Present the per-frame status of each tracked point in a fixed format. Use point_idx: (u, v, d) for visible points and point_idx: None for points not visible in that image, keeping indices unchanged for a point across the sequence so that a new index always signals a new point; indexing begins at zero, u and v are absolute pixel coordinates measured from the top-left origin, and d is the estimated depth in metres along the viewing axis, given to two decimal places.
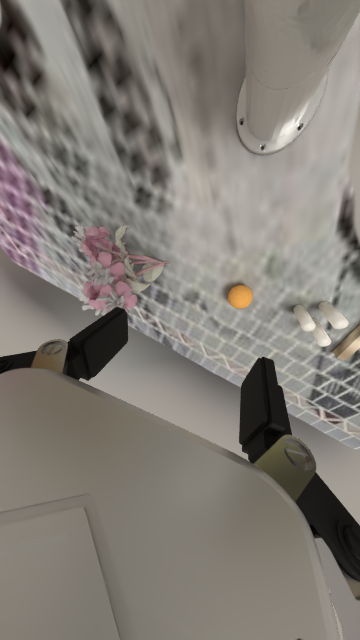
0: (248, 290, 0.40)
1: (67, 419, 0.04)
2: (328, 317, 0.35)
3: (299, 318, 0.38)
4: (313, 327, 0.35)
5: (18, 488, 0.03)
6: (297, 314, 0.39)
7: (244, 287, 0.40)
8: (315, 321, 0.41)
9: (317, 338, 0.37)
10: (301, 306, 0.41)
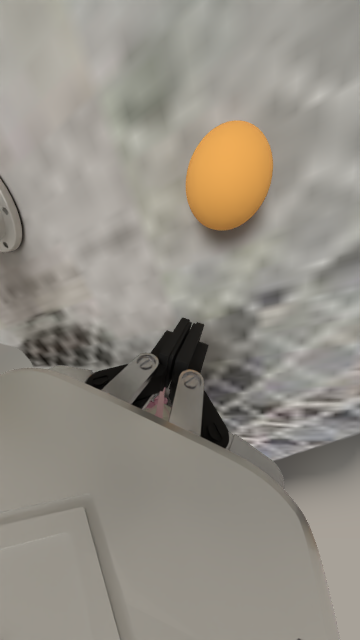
0: (193, 153, 0.11)
1: (67, 419, 0.04)
2: None
3: None
4: None
5: (18, 488, 0.03)
6: None
7: (187, 175, 0.12)
8: None
9: None
10: None
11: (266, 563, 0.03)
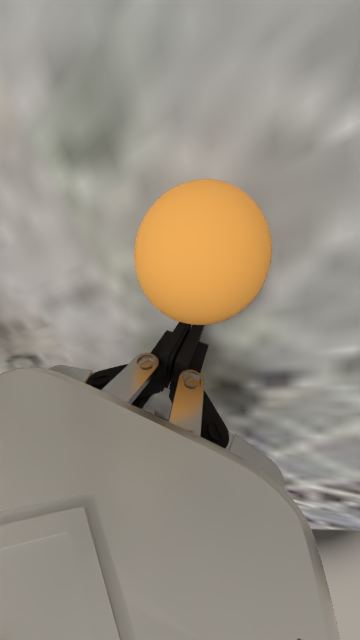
0: None
1: (67, 419, 0.04)
2: None
3: None
4: None
5: (18, 488, 0.03)
6: None
7: None
8: None
9: None
10: None
11: (266, 563, 0.03)
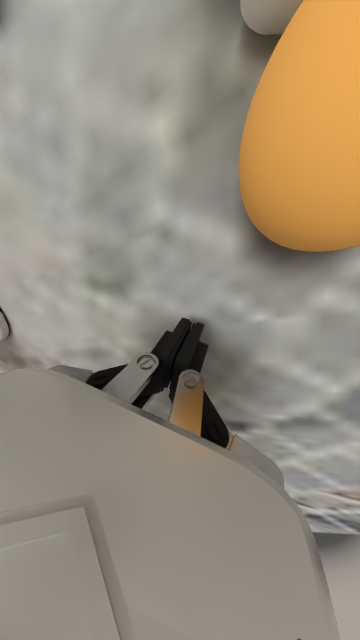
0: (261, 135, 0.04)
1: (67, 419, 0.04)
2: None
3: None
4: None
5: (18, 488, 0.03)
6: None
7: (258, 92, 0.04)
8: None
9: None
10: None
11: (266, 563, 0.03)
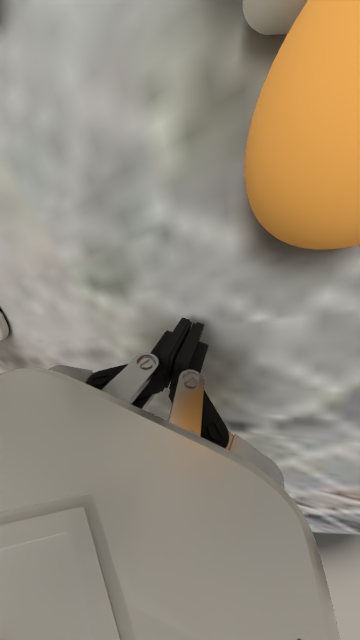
0: (277, 123, 0.04)
1: (67, 419, 0.04)
2: None
3: None
4: None
5: (18, 488, 0.03)
6: None
7: (271, 79, 0.04)
8: None
9: None
10: None
11: (266, 563, 0.03)
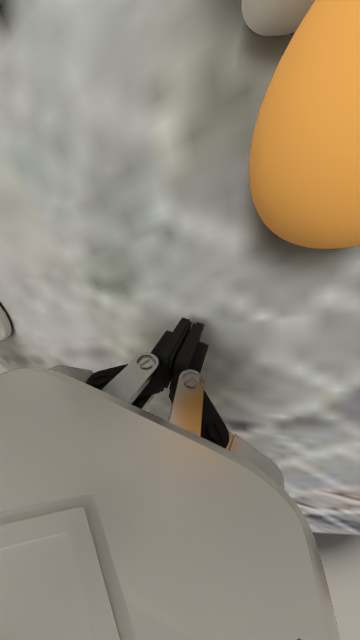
0: (282, 123, 0.04)
1: (67, 419, 0.04)
2: None
3: None
4: None
5: (18, 488, 0.03)
6: None
7: (277, 80, 0.04)
8: None
9: None
10: None
11: (266, 563, 0.03)
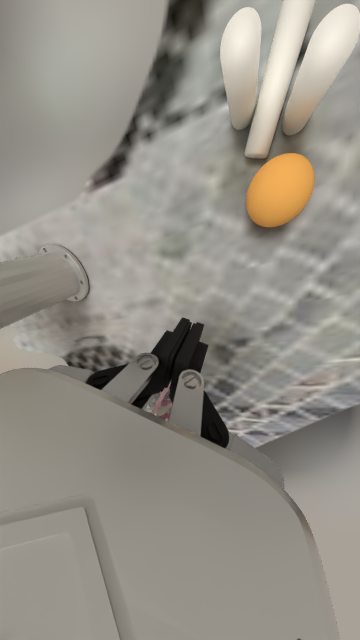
0: (253, 194, 0.16)
1: (67, 419, 0.04)
2: (239, 96, 0.13)
3: (284, 55, 0.13)
4: None
5: (18, 488, 0.03)
6: (273, 93, 0.14)
7: (252, 183, 0.16)
8: (285, 111, 0.15)
9: (313, 86, 0.10)
10: None
11: (266, 563, 0.03)
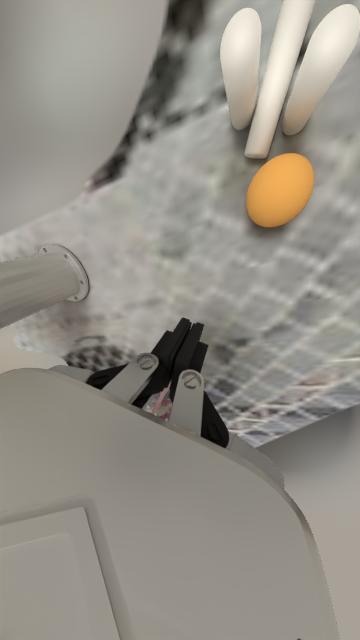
0: (253, 194, 0.16)
1: (67, 419, 0.04)
2: (239, 96, 0.13)
3: (283, 55, 0.13)
4: None
5: (18, 488, 0.03)
6: (273, 93, 0.14)
7: (252, 183, 0.16)
8: (284, 112, 0.15)
9: (313, 86, 0.10)
10: None
11: (266, 563, 0.03)
